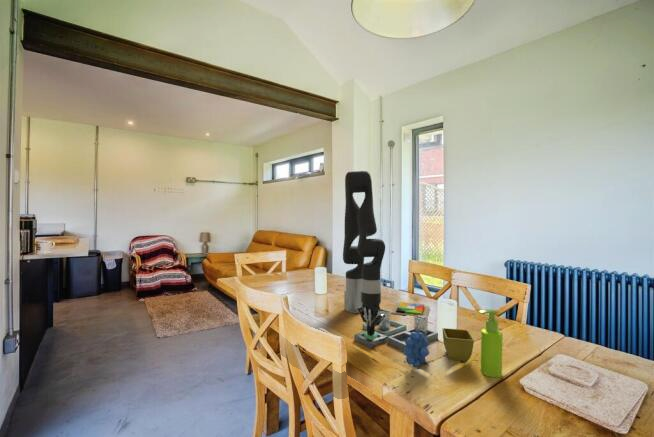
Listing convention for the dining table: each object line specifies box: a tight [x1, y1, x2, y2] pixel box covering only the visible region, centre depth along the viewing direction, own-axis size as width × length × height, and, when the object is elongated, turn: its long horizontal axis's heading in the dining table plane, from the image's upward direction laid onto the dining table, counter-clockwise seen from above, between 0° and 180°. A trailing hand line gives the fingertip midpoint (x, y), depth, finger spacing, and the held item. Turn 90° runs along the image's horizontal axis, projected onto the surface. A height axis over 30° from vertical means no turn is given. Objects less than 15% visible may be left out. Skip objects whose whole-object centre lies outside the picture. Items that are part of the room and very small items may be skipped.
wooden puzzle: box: [390, 301, 430, 318], centre depth 157 cm, size 18×19×4 cm
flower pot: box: [442, 327, 475, 363], centre depth 106 cm, size 9×9×9 cm
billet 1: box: [377, 308, 391, 332], centre depth 131 cm, size 5×5×8 cm
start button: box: [364, 333, 377, 340], centre depth 119 cm, size 5×5×3 cm
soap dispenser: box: [478, 308, 503, 378], centre depth 97 cm, size 6×7×20 cm
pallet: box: [387, 327, 439, 351], centre depth 119 cm, size 19×9×3 cm, turn 127°
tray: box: [362, 319, 407, 337], centre depth 131 cm, size 12×14×3 cm
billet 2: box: [413, 315, 429, 337], centre depth 122 cm, size 5×5×8 cm
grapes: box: [402, 332, 430, 369], centre depth 100 cm, size 12×7×12 cm, turn 125°
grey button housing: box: [353, 330, 389, 349], centre depth 119 cm, size 9×9×3 cm
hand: (370, 334), depth 119 cm, fingers closed
